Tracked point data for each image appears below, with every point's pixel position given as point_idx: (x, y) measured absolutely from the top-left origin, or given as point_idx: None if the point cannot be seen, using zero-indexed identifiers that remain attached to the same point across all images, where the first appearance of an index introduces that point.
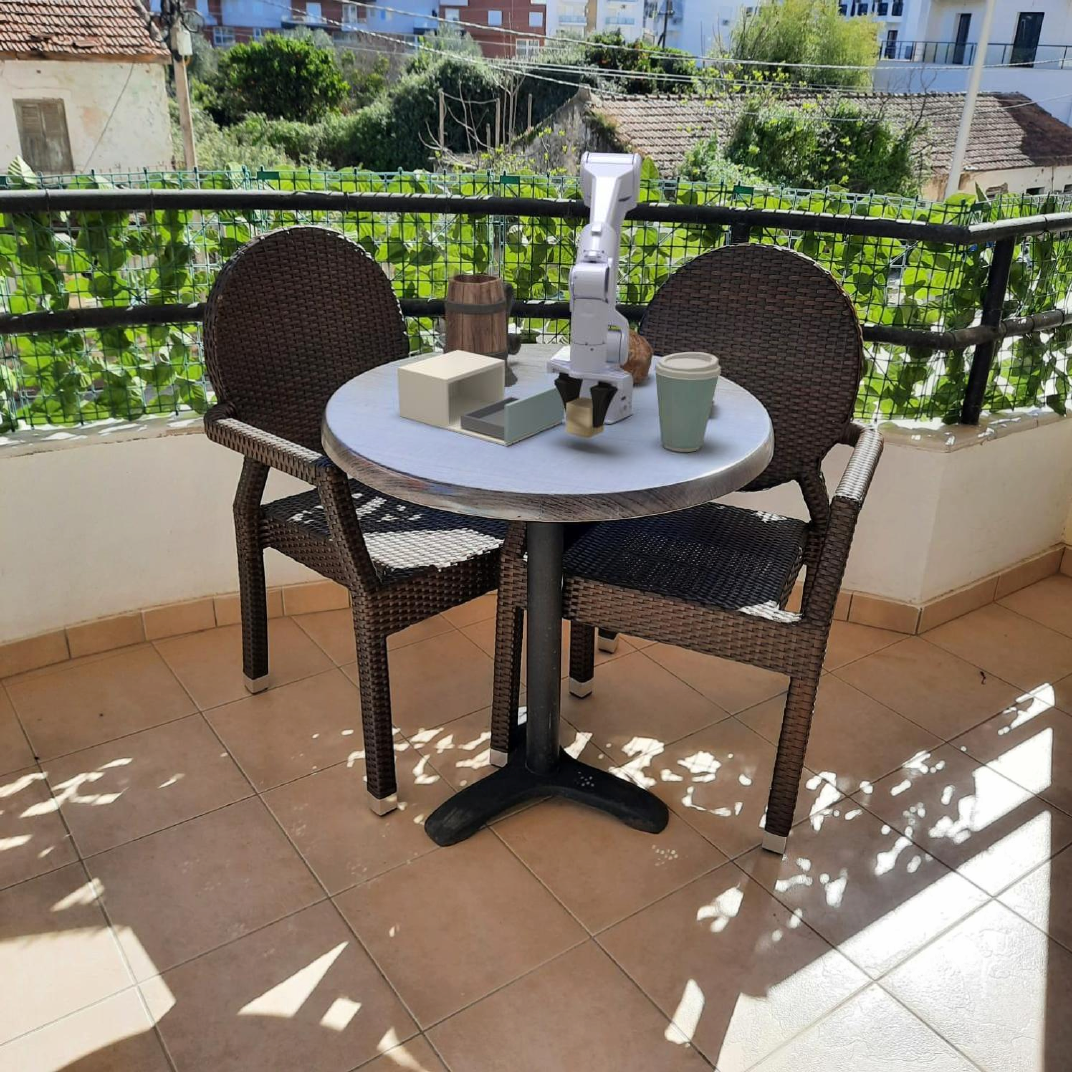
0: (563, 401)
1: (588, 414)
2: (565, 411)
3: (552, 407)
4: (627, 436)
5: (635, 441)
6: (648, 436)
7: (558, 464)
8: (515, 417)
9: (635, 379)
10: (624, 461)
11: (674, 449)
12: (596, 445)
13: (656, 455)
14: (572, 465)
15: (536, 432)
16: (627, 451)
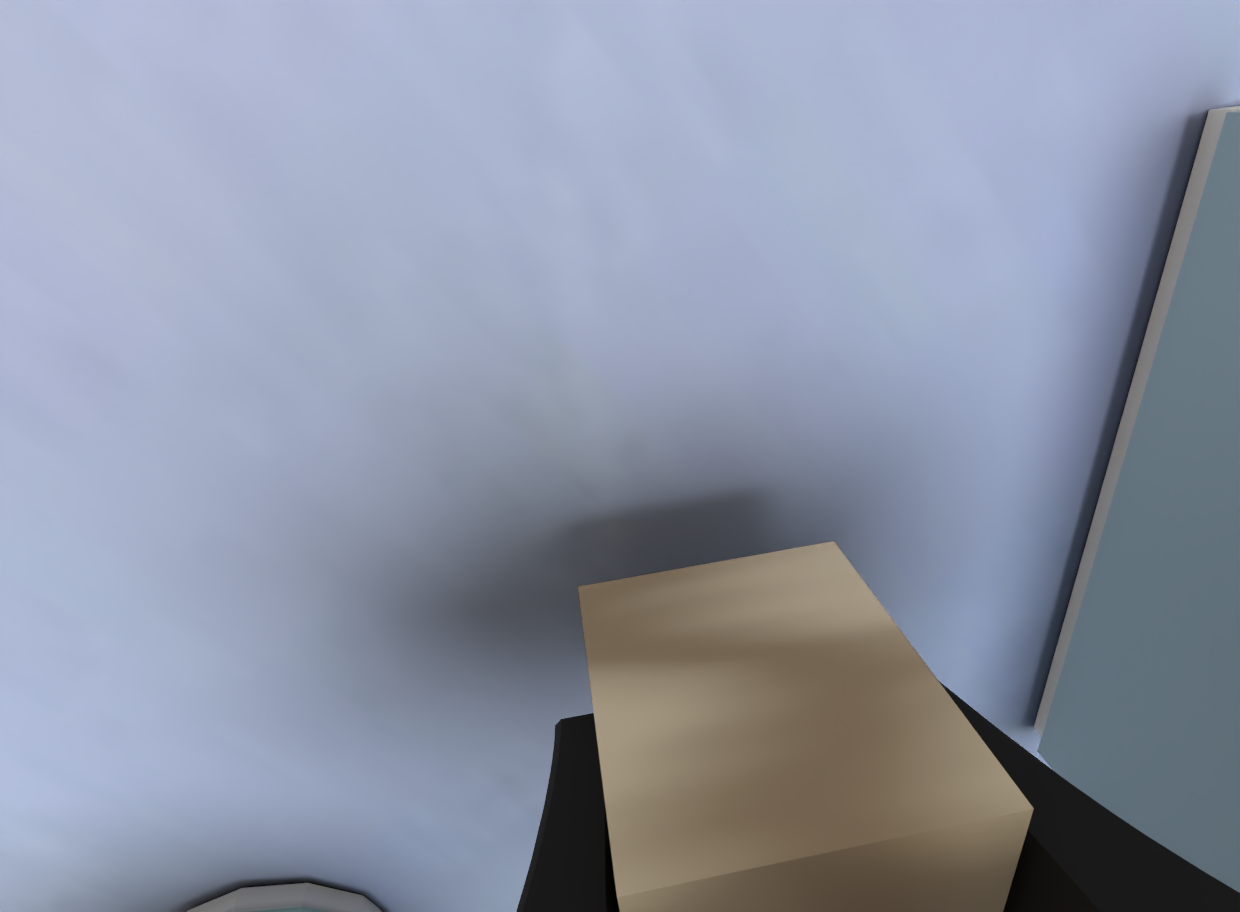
0: (1102, 817)
1: (620, 805)
2: (981, 717)
3: (1169, 758)
4: None
5: (515, 831)
6: None
7: (556, 122)
8: None
9: None
10: (259, 596)
11: (224, 902)
12: None
13: (237, 796)
14: (446, 211)
15: (1100, 511)
16: (413, 718)
